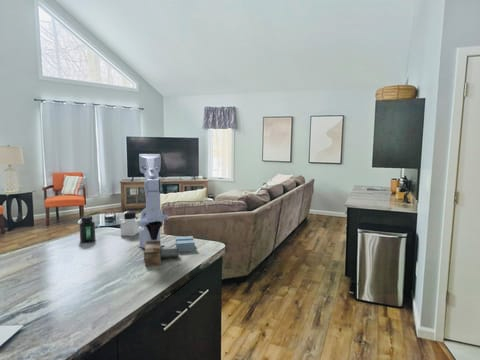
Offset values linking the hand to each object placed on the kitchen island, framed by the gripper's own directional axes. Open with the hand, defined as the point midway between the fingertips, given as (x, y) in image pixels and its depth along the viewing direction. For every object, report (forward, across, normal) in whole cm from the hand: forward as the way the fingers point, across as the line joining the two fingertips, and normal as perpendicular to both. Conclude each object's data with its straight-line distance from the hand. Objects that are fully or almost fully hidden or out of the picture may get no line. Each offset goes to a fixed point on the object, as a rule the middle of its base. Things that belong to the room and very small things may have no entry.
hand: (153, 239), depth 133 cm
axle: (+7, +2, -2) cm, 7 cm away
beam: (+8, 0, 0) cm, 8 cm away
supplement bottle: (+9, -5, +45) cm, 46 cm away
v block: (+8, +18, 0) cm, 19 cm away
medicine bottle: (+9, +15, +39) cm, 43 cm away
